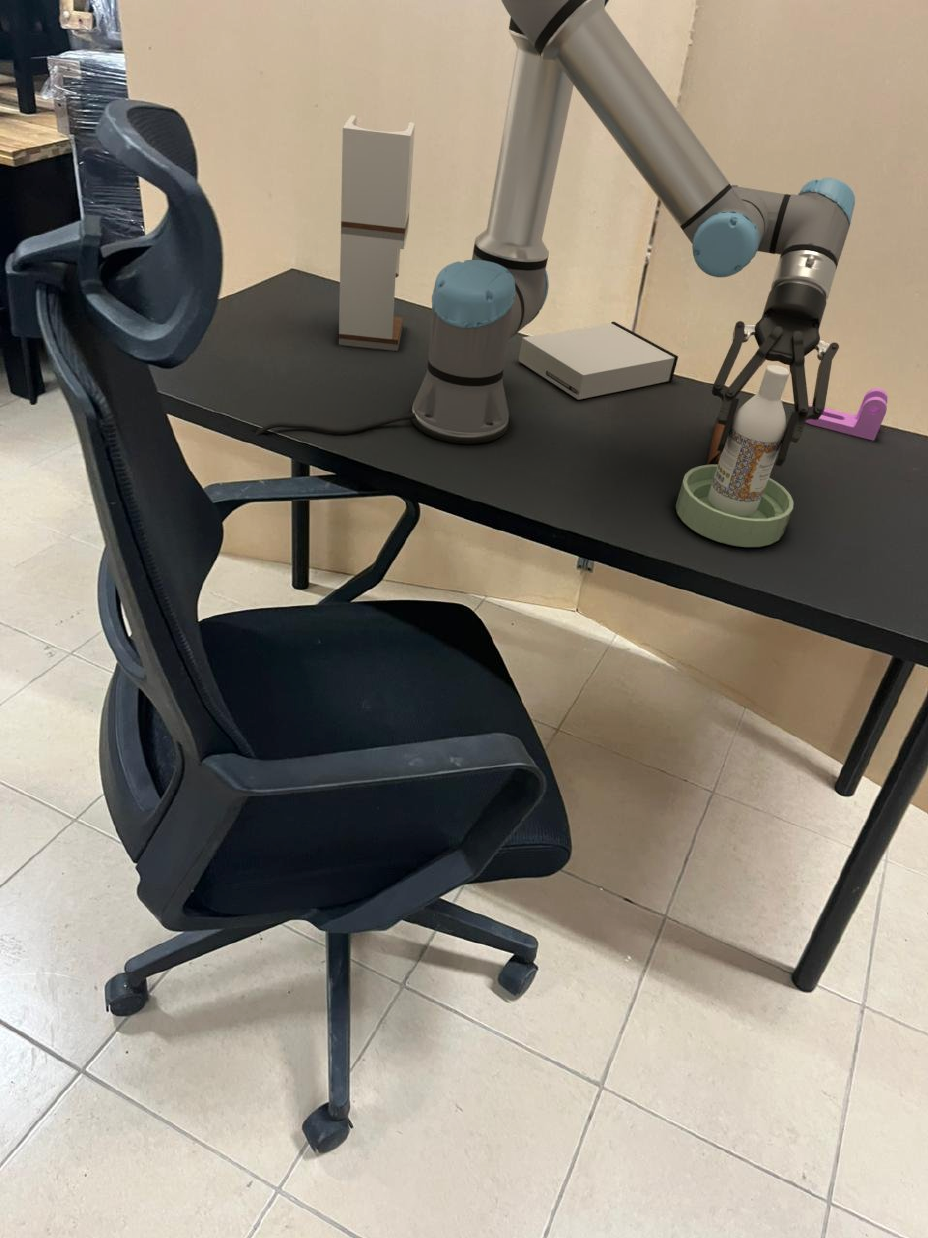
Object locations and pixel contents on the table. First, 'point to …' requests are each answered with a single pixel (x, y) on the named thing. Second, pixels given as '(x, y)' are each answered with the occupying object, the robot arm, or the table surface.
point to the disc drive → (597, 360)
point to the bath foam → (751, 448)
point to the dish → (730, 528)
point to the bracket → (857, 417)
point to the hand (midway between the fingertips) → (750, 454)
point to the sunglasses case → (715, 444)
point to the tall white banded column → (373, 232)
